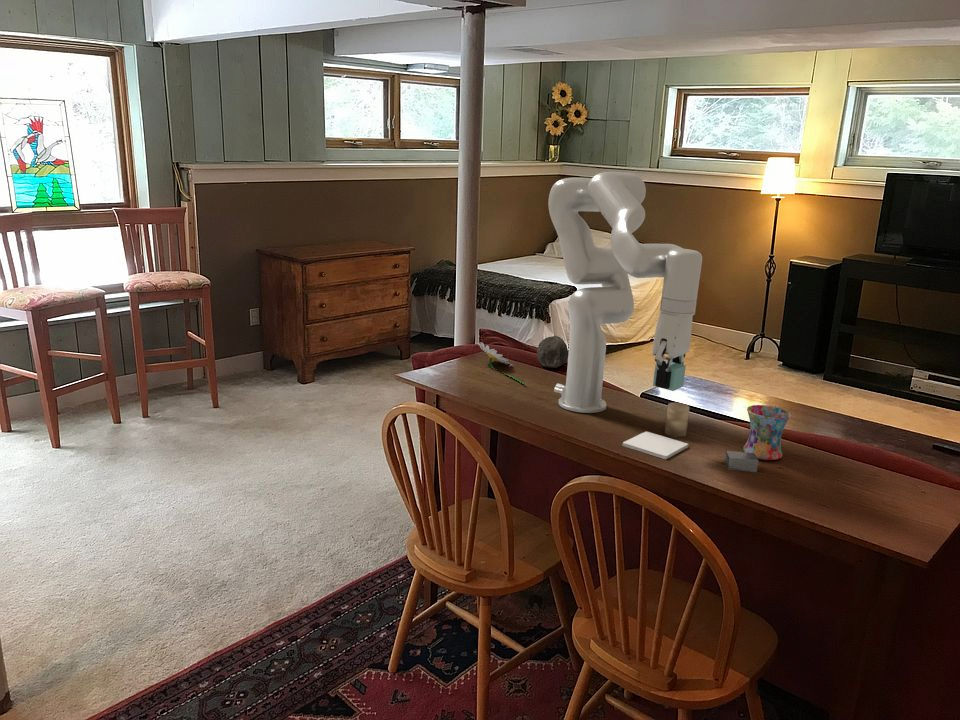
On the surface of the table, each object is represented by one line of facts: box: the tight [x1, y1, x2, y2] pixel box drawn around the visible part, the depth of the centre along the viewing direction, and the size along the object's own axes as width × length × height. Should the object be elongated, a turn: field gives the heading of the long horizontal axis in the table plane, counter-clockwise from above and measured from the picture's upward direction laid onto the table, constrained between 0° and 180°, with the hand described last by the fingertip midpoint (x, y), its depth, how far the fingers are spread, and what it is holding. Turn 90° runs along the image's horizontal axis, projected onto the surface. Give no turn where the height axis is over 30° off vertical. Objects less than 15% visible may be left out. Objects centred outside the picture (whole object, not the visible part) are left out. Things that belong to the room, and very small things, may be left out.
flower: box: [477, 341, 525, 385], centre depth 228 cm, size 13×5×30 cm
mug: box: [742, 404, 792, 461], centre depth 172 cm, size 12×9×11 cm
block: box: [652, 360, 687, 392], centre depth 171 cm, size 5×5×5 cm
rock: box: [536, 335, 569, 369], centre depth 238 cm, size 10×11×10 cm
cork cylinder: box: [664, 402, 690, 438], centre depth 184 cm, size 5×5×7 cm
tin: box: [724, 450, 759, 473], centre depth 165 cm, size 6×4×3 cm, turn 83°
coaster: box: [621, 431, 689, 460], centre depth 175 cm, size 11×11×1 cm
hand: (667, 384), depth 172 cm, fingers closed on block, 5 cm apart
